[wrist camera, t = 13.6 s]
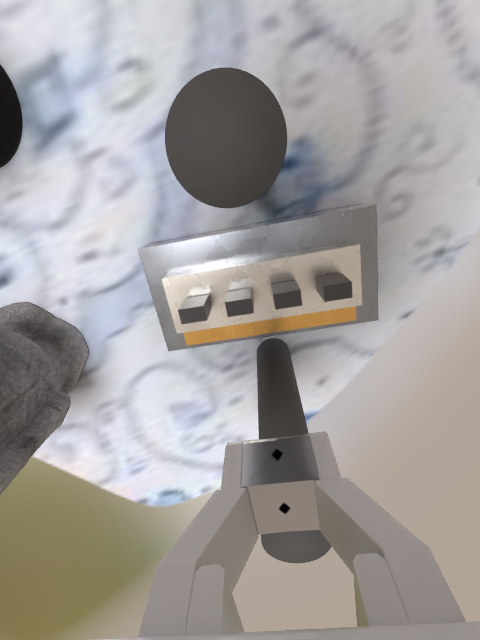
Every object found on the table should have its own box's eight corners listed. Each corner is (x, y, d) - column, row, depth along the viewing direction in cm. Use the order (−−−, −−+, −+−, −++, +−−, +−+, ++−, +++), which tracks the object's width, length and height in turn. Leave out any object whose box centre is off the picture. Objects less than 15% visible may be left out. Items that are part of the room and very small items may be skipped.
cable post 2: (254, 341, 33) (256, 519, 15) (287, 336, 33) (330, 513, 15) (259, 369, 35) (266, 565, 16) (290, 364, 34) (335, 560, 16)
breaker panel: (152, 243, 30) (129, 253, 24) (359, 204, 28) (386, 205, 22) (177, 334, 34) (162, 361, 28) (363, 305, 31) (387, 328, 26)
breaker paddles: (185, 298, 25) (177, 309, 23) (341, 272, 24) (351, 281, 21) (188, 311, 26) (181, 324, 23) (341, 287, 25) (352, 297, 22)
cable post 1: (221, 160, 27) (150, 85, 9) (261, 152, 27) (278, 52, 8) (229, 203, 28) (182, 218, 10) (267, 195, 28) (294, 195, 9)
